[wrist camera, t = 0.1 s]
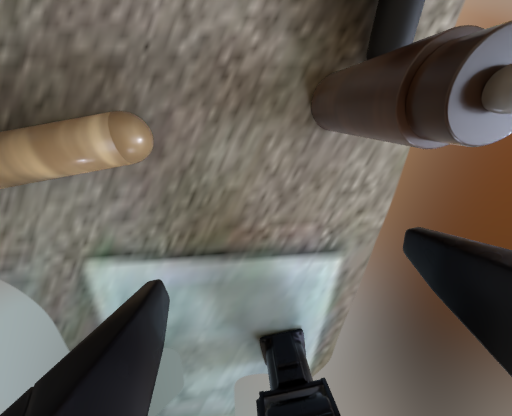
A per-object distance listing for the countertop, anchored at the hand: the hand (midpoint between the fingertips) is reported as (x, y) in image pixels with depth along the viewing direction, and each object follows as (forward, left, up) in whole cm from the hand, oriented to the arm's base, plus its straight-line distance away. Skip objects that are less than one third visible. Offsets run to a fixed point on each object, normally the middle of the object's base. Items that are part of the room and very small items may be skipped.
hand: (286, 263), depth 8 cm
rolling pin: (+5, +15, -15) cm, 22 cm away
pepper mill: (+4, -9, -15) cm, 17 cm away
